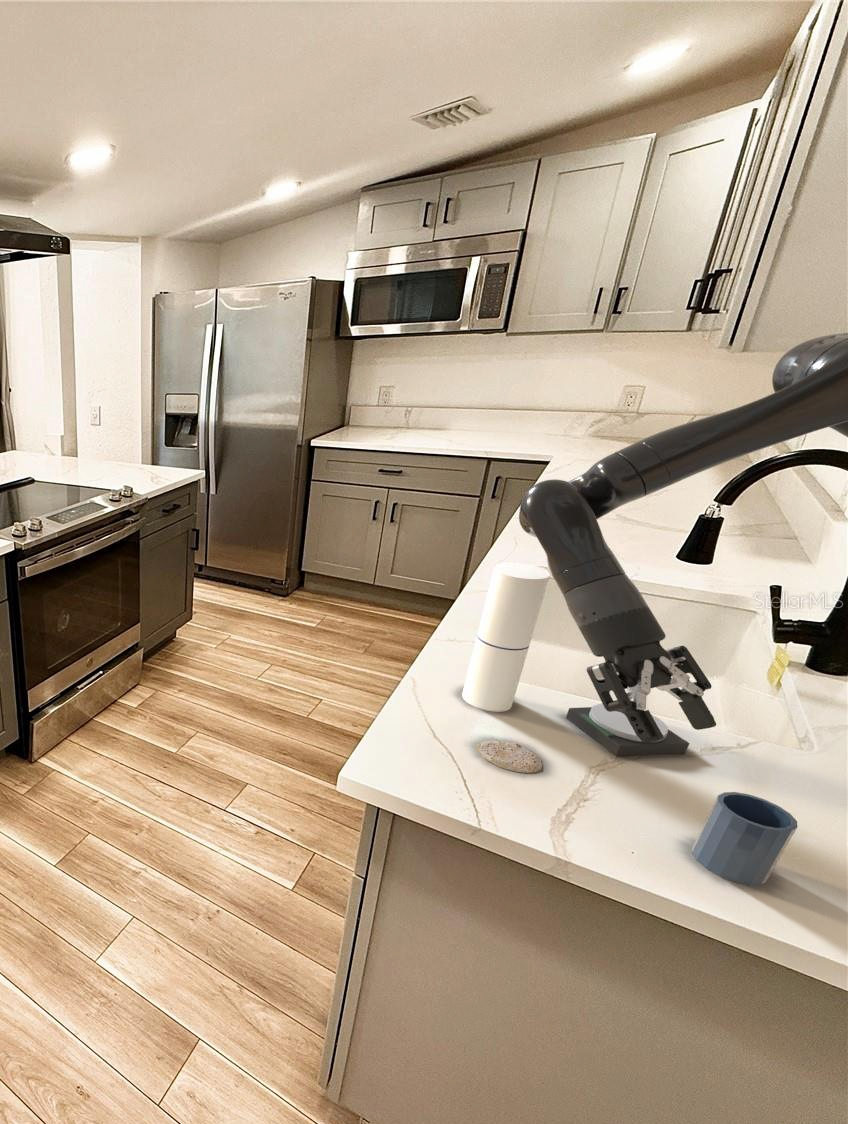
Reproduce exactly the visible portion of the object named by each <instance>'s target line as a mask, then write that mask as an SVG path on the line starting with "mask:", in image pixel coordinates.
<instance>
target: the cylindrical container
mask: <svg viewBox="0 0 848 1124" xmlns="http://www.w3.org/2000/svg"><path fill="white" fill-rule="evenodd" d="M492 571H493V572H492V575H491V579H490V583H489V586H488V591H487V595H486V599H485V602H484V607H483V610H482V615H481V619H480V622H479V627H478V631H477V635H476V638H475V643H474V646H473V650H472V653H471V654H472V655H471V659H470V661H469V666H468V670H467V674H466V678H465V683H464V686H463V690H462V693H461V694H462V696H461V697H462V698H463V700H464V701H465V702H466V703H468V704H469V705H471V706H473V707H475V708H477V709H480V710H483V711H488V712H493V713H494V712H495V713H496V712H497V713H501V712H506V711H509V710H510V709H512V707H513V703H514V699H515V696H516V692H517V689H518V687H519V682H520V679H521V675H522V672H523V669H524V665H525V662H526V659H527V655H528V652H529V649H530V645H531V642H532V638H533V635H534V631H535V628H536V626H537V625H536V624H537V621H538V619H539V614H540V611H541V608H542V604H543V600H544V597H545V594H546V590H547V587H548V585H549V584H548V583H549V581H550V577H551V572H550V571H548V570H547V569H545V568H543V567H540V566H537V565H533V564H530V563H529V564H528V563H523V562H501V563H498V564H495V565H494V567H493V570H492Z"/></svg>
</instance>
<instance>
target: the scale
mask: <svg viewBox="0 0 848 1124" xmlns="http://www.w3.org/2000/svg"><path fill="white" fill-rule="evenodd" d="M651 715H652V717H653V719H654V721H655V722H656V724H657V726H658V728H659V729H660V731H661V733H662V735H663V737H664V738H663V739H662V740H659V741H655V742H648V743H644V742H642V741H641V740H640V738H639V737H638V736H637V735H636V733H635V731H634V730H633V727H632V726H631V724H630V722H629V721H628V719H627V717H626V716H625V714H622V713H620V712H616V711H612V712H608V711H607V710H606V709H605V708H604V706H603V703H598V704H595V705H592V706H587V707H569V708H568V710H567V713H566V716H565V719H566V720H568V722H570V723H571V724H573V725H574V726H575V727H577V728H578V729H579V730H581V731H582V732H583V733H584V734H586V735H587V736H588V737H590V738H591V739H592V740H594V741H595V742H596V743H598V745H600V746H602V747H603V748H604V749H606V751H608V752H609V753H610V754H612V755H613V756H614V757H617V758H619V757H642V756H644V757H645V756H646V757H647V756H666V755H667V756H669V755H685V754H686V752H687V750H688V748H689V746H690V742H688V741H687V740H685V739H684V738H682V737H681V736H679V735H678V734H676V733H674V732H673V731H672V730H670V729H669V728H668V726H667V725H666V723H665V722H664V721H663V720H661V719H660V718H659V717H657V716H656V715H653V714H651Z"/></svg>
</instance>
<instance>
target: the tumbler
mask: <svg viewBox="0 0 848 1124" xmlns="http://www.w3.org/2000/svg"><path fill="white" fill-rule="evenodd" d="M700 829H701V830H700V831H699V833H698V836H697V838H696V839H695V842H694V844H693V846H692V848H691V855H692V856H693V858H694V859H695V861H696V862H697V863H699V864H700V865H701V866H702V867H704V868H705V869H706V870H707V871H709V872H711V873H712V874H715V875H716V876H718V877H720V878H723V879H724V880H727V881H730V882H732V883H736V884H740V885H745V886H750V887H751V886H752V887H753V886H761V885H763V884H765V883H766V882H767V881H768V880H769V878H770V876H771V874H772V872H773V871H774V870H775V867H776V866H777V864H778V862H779V861H780V859H781V857H782V855H783V854H784V852H785V850H786V848H787V846H788V845H789V843H790V841H791V839H792V838H793V836H794V834H795V833H796V831H797V829H798V821H797V820H796V818H795V817H794V816H793V815H792V814H791V813H790V812H788V811H787V810H786V809H785V808H783V807H782V806H780V805H777V804H775V803H774V802H771V801H769V800H767V799H765V798H762V797H758V796H755V795H752V794H749V793H743V792H737V791H725V792H722V793H719V794H718V795H717V796H716V799H715V800H714V803H713V805H712V807H711V809H710V811H709V813H708V815H707V817H706V819H705V820H704V823H703V825H702V827H701V828H700Z"/></svg>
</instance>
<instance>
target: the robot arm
mask: <svg viewBox="0 0 848 1124" xmlns="http://www.w3.org/2000/svg"><path fill="white" fill-rule="evenodd" d="M773 369H774V370H773V372H772V377H771V382H772V383H771V384H772V389H773V391H774V392H773V393H771V394H769V395H766V396H764V397H762V398H759V399H756V400H754V401H751V402H748V403H746V404H743V405H741V406H738V407H735V408H732V409H729V410H725V411H722V412H720V413H716V414H713V415H709V416H706V417H703V418H699V419H696V420H693V421H689V422H686V423H683V424H680V425H676V426H674V427H671V428H668V429H665V430H662V431H659V432H657V433H655V434H653V435H649V436H647V437H645V438H643V439H641V440H639V441H636V442H634V443H632V444H630V445H627V446H626V447H623V448H621V449H619V450H617V451H615V452H614V453H611V454H608V455H607V456H605V457H603V458H602V459H599V460H598V461H596V462H595V463H594V464H592V466H591V467H590V468H589V469H588V470H586V471H585V472H584V473H582V474H580V475H579V476H577V477H575V478H573V479H571V480H569V481H567V480H565V479H557V478H556V479H554V478H553V479H547V480H542V481H540V482H537V483H536V484H534V485H532V486H531V487H530V488H529V489H528V490H526V492H525V493H524V495H523V497H522V498H521V502H520V506H519V513H518V522H519V524H520V527H521V528H522V530H523V531H524V532H525V533H526V534H528V535H529V536H531V537H534V538H537V540H538V542H539V544H540V546H541V548H542V549H543V551H544V553H545V555H546V563H547V566H548V569H549V573H550V575H551V576H552V578H553V580H554V581H555V583H556V585H557V587H558V588H559V590H560V592H561V594H562V596H563V598H564V601H565V604H566V606H567V608H568V611H569V613H570V615H571V617H572V619H573V620H574V623H575V624H576V626H577V628H578V630H579V632H580V633H581V635H582V637H583V639H584V640H585V642H586V644H587V646H588V648H589V649H590V651H591V653H592V654H593V656H594V657H597V658H601V657H603V658H604V662H601V663H598V664H593V665H591V666H588V667H587V668H586V673H587V675H588V677H589V679H590V681H591V683H592V685H593V687H594V689H595V691H596V694H597V695H598V697H599V699H600V702H601V704H603V706H604V708H605V709H606V710H607V711H608V712H612V711H616V712H620V713H622V714H625V716H626V717H627V719H628V721H629V722H630V724H631V726H632V727H633V730H634V731H635V733H636V735H637V736H638V737H639V738H640V740H641V741H642V742H644V743H648V742H655V741H659V740H662V739H663V738H664V737H663V735H662V733H661V731H660V729H659V728H658V726H657V724H656V722H655V721H654V719H653V717H652V715H653V714H652V713H651V712H650V709H647V696H648V695H650V694H651V689H654V688H656V689H657V690H659V691H662V692H667V693H668V694H670V695H671V696H673V697H674V698H675V699H677V700H678V702H677V703H678V705H679V707H680V709H681V710H682V711H683V712H682V713H684V715H685V716H686V719H687V720H688V722H689V724H690V725H691V727H692V728H693V729H694V730H696V731H697V730H698V731H699V730H705V729H711V728H715V727H716V726H717V722H716V720H715V717H714V716H713V714H712V712H711V711H710V709H709V707H708V706H707V704H706V702H705V700H704V699H703V696H704V694H705V693H704V692H705V691H707V690H711V689H712V686H713V685H712V684H711V683H712V682H710V681H709V679H708V677H707V675H705V673H704V671H703V670H702V669H701V667H700V665H699V664H698V662H697V661H696V660H695V658H694V657H693V655H692V653H691V652H690V651H689V649H688V648H687V646H685V645H679V646H675V647H670V648H667V649H665V648H664V647H663V646H662V645H661V641H663V640H665V639H666V633H665V631H664V630H663V628H662V626H661V624H660V623H659V622H658V619H657V618H656V617H655V615H654V613H653V612H652V610H651V607H649V604H648V603H647V601H646V600H645V598H644V597H643V594H641V592H640V590H639V588H638V587H637V586H636V585H635V583H634V582H633V581H632V580H631V579H630V577H629V576H628V575H627V573H626V572H625V570H624V568H623V566H622V565H621V564H620V561H619V559H618V558H617V557H616V555H615V554H614V552H613V550H612V549H611V548H610V546H609V545H608V543H607V542H606V540H605V537H604V534H603V532H602V529H601V527H600V524H599V522H598V519H600V518H602V517H604V516H606V515H607V514H609V513H611V512H613V511H615V510H616V509H618V508H620V507H622V506H624V505H626V504H629V503H631V502H635V501H637V500H639V499H642V498H644V497H647V496H649V495H652V494H654V493H655V492H659V491H660V490H663V489H665V488H668V487H670V486H672V485H675V484H676V483H679V482H681V481H683V480H686V479H688V478H691V477H692V476H695V475H698V474H699V473H702V472H704V471H707V470H710V469H712V468H714V467H717V466H719V465H723V464H724V463H728V462H731V461H732V460H735V459H739V458H741V457H743V456H746V455H749V454H752V453H755V452H758V451H760V450H763V449H765V448H769V447H772V446H775V445H778V444H780V443H781V444H782V443H783V442H786V441H787V442H788V441H790V440H792V439H796V438H798V437H802V436H804V435H807V434H811V433H813V432H817V431H819V430H824V429H826V428H830V429H832V430H834V431H835V432H837V433H839V434H841V435H843V436H844V437H846V438H848V332H841V333H840V332H839V333H833V334H825V335H821V336H817V337H814V338H811V339H807V340H805V341H803V342H801V343H798V344H797V345H795V346H794V347H792V348H791V349H789V350H788V351H786V353H784V354H783V355H782V356H781V357H780V359H779V360H778V362H777V363H776V365H775V367H774V368H773ZM689 674H690V675H691V676H692V677H693V679H694V680H695V681H693V682H692V681H691V680H690V678H691V676H690V675H689ZM610 692H613V694H614V696H615V698H616V699H615V700H614V699H613V698H612V696H611V693H610ZM646 709H647V710H646Z"/></svg>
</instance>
